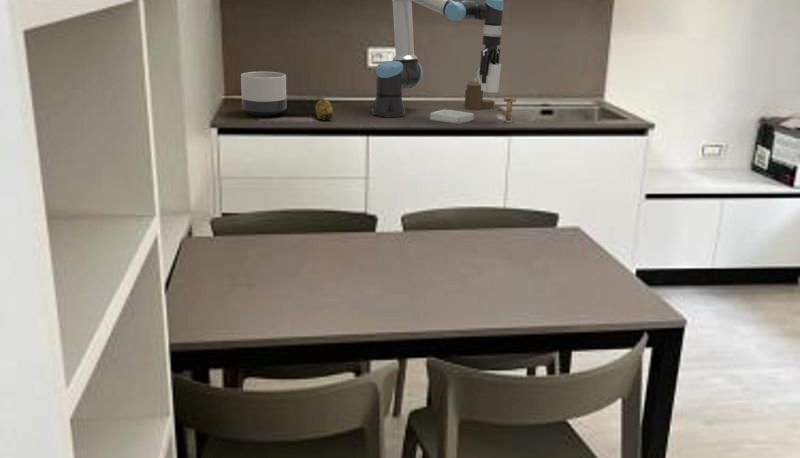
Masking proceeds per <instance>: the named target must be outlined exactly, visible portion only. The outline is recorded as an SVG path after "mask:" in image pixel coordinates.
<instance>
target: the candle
mask: <svg viewBox="0 0 800 458" xmlns="http://www.w3.org/2000/svg"><path fill="white" fill-rule="evenodd" d="M483 97H484V91H482V90H481V84H479V82H478V80H477V77H475V78H474V81H473V80H472V81H470V82H468V83H467V84H466V90H465V95H464V107H465V109H466V110H469V111H481V110H492V109H491V108H493V109H494V108H495V107H494V104H495V101H494V100H492V99H487V98H485V99H484V98H483ZM480 109H481V110H480Z"/></svg>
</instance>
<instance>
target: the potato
mask: <svg viewBox="0 0 800 458" xmlns="http://www.w3.org/2000/svg"><path fill="white" fill-rule="evenodd" d="M314 108H315V113H316V118H318V119H319V120H320V119H324V120H323V121H325V120H328V121H329V120H331V119H332V118H333V115H334V108H333V105H332V103H331V102H330V101H329V100H328V99H319V100H318V101H317V102H316V104H315V107H314Z"/></svg>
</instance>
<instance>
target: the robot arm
mask: <svg viewBox="0 0 800 458" xmlns="http://www.w3.org/2000/svg"><path fill="white" fill-rule="evenodd" d="M391 1H392V14H393V30H394V31H393V32H394V33H393V34H394V48H395V49H394V50H395V52H394V53H395V55H394V57H393V58H392V60H388V61H382V62H379V63H378V64H377V66H376V72H375V74H376V80H375V81H376V82H375V83H376V85H375V86H376V88H375V100H374V102H373V104H372V105H373V106H372V108H371V115H372V114H373V115H372V116H374V115H378V116H377V117H379V116H387V117H386V118H401V117H400V116H402V117H404V115H405V116H406V109H405V105H404V102H403V97H402V96H403V90H405V89H412V88H413V87H416V86H418V85H419V84H420V83H421V81H422V80H423V77H424V71H423V68H422V66H421V64H420V63H419V60H418V57H417V55H416V54H415V46H414V45H415V42H414V41H415V40H414V25H413V24H414V23H413V22H414V21H413V2H414V3H416V4H418V5H420V6H423V7H425V8H427V9H430V10H432V11H434V12H436V13H439V14H442V15H443V16H445V17H446V19H448V20H449V21H453V22H459V21H470V20H477V21H483V32H482V33H483V36H482V45H484V46H485V47H484V50H481V51H480V54H481V55H480V64H479V67H480V72H479V76H481V81H482V83H481V90H482V91H483V92H484V91H487V89H488V76H487V75H488V70H489V64H490V63H492V64H493V65H496V63H499V64H500V55H501V49H500V48H498V46H501V42H502V41H501V40H502V37H501V35H502V30H503V28H502V26H503V16H504V15H503V14H504V0H485V1H477V0H462V1H459V0H391Z"/></svg>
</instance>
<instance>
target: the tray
mask: <svg viewBox="0 0 800 458" xmlns="http://www.w3.org/2000/svg"><path fill="white" fill-rule="evenodd" d="M474 117H475V113H473V112H466V111H460V110H453V109H445V108H444V109H440V110H438V111H432V112H430V113H429V120H430V121H435V122H436V121H437V122H442V123H447V124H455V125H462V124H465V123H469V122H471V121H474V120H475V119H474Z"/></svg>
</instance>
